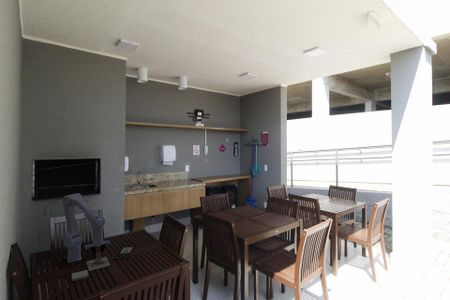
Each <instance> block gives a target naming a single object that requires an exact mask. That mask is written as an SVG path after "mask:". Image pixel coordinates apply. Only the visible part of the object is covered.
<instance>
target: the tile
mask: <svg viewBox="0 0 450 300" xmlns="http://www.w3.org/2000/svg"><path fill="white" fill-rule="evenodd" d="M86 278H89V270H88V269H85V270H81V271H77V272H72V273H71V281H72V282H74V281H79V280H83V279H86Z"/></svg>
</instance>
